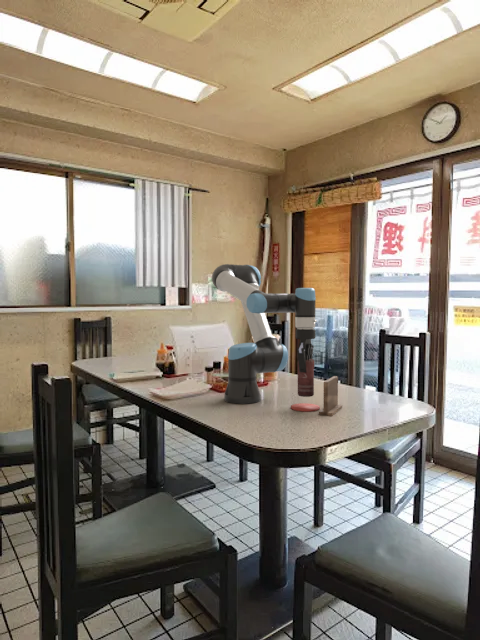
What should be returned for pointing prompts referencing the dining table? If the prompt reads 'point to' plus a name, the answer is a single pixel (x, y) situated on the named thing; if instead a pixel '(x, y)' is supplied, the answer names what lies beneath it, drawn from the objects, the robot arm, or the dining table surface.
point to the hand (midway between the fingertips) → (305, 389)
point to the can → (306, 380)
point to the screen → (330, 397)
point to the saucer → (305, 407)
